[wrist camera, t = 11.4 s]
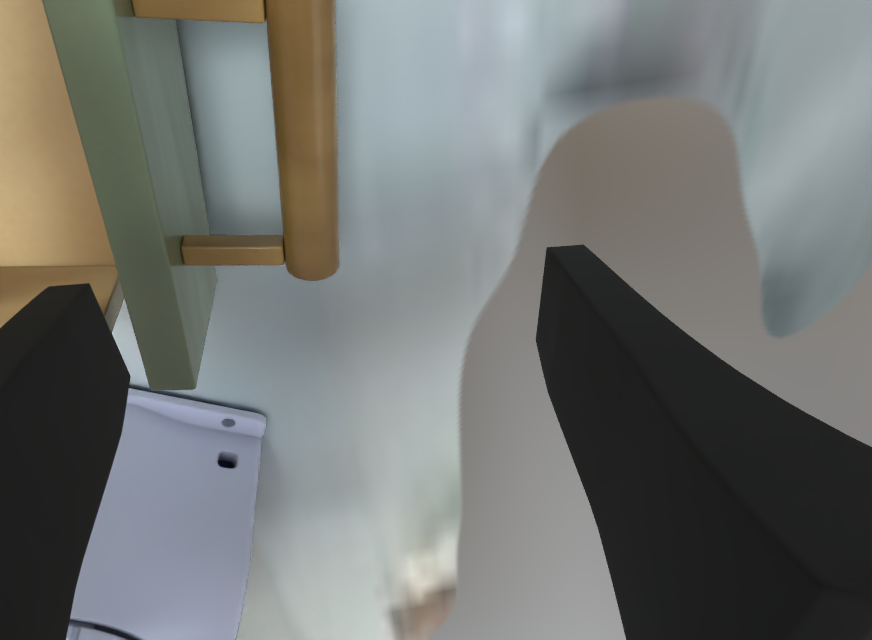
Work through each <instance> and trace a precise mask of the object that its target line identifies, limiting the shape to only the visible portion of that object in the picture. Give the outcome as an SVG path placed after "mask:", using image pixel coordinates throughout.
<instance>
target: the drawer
mask: <svg viewBox="0 0 872 640" xmlns="http://www.w3.org/2000/svg"><path fill="white" fill-rule="evenodd" d="M175 19H176V20H199V21H222V22H245V23H264V22H265V20H266V22H267V35H268V48H269V60H270V73H271V86H272V99H273V111H274V124H275V137H276V150H277V162H278V175H279V188H280V201H281V213H282V226H283V235H210V231H209V225H208V219H207V212H206V206H205V200H204V194H203V188H202V181H201V175H200V169H199V163H198V157H197V151H196V144H195V138H194V132H193V126H192V120H191V113H190V107H189V101H188V95H187V89H186V82H185V76H184V70H183V64H182V58H181V52H180V45H179V39H178V33H177V27H176V21H175ZM284 263H285V264H286V269H287V270H288V272H289V273H290V274H291V275H292V276H294V277H296V278H298V279H302V280H307V281H317V280H322V279H326V278H328V277H330V276H332V275H333V274H334V273H336V271H337V270H338V268H339V197H338V130H337V63H336V0H0V328H1V327H2V326H3V325H4V324H5V323H6V322H7V321H8V320H10V319H11V318H12V317H13V316H14V315H15V314H16V313H17V312H19V311H20V310H21V309H22V308H23V307H24V306H25V305H27V304H28V303H29V302H30V301H31V300H32V299H34V298H35V297H36V296H37V295H38V294H40V293H41V292H42V291H43V290H45V289H46V288H47V287H49V286H59V285H72V284H85V283H90V285H91V288H92V290H93V292H94V295H95V297H96V299H97V301H98V304H99V306H100V308H101V310H102V313H103V315H104V317H105V320H106V322H107V324H108V326H109V329H110V331H111V333H112V331H113V328H114V325H115V322H116V319H117V316H118V314H119V311H120V308H121V305H122V302H123V300H124V297H125V301H126V304H127V308H128V311H129V315H130V318H131V322H132V326H133V329H134V333H135V336H136V340H137V344H138V347H139V351H140V354H141V358H142V362H143V365H144V369H145V372H146V376H147V379H148V383H149V387H150V389H151V390H152V391H159V390H192V389H195V388H196V385H197V380H198V375H199V370H200V365H201V360H202V355H203V350H204V345H205V340H206V335H207V330H208V325H209V320H210V314H211V309H212V304H213V299H214V294H215V289H216V284H217V274H216V268H215V266H220V265H284Z"/></svg>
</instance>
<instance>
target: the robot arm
mask: <svg viewBox="0 0 872 640" xmlns="http://www.w3.org/2000/svg"><path fill="white" fill-rule="evenodd" d="M536 343H537V347H538V352H539V357H540V361H541V365H542V370H543V374H544V378H545V382H546V386H547V390H548V393H549V396H550V399H551V401H552V405H553V407H554V410H555V413H556V415H557V418H558V421H559V423H560V426H561V429H562V431H563V434H564V437H565V439H566V442H567V445H568V447H569V450H570V452H571V455H572V458H573V460H574V463H575V466H576V468H577V471H578V474H579V476H580V479H581V482H582V484H583V487H584V489H585V492H586V495H587V497H588V500H589V503H590V505H591V508H592V512H593V514H594V518H595V521H596V524H597V527H598V530H599V534H600V537H601V541H602V545H603V549H604V552H605V556H606V560H607V564H608V568H609V572H610V575H611V579H612V583H613V587H614V591H615V595H616V599H617V603H618V607H619V611H620V615H621V620H622V624H623V627H624V632H625V636H626V640H872V447H870V446H868V445H866V444H864V443H862V442H860V441H858V440H856V439H854V438H852V437H850V436H848V435H846V434H844V433H843V432H841V431H839V430H837V429H835V428H833V427H831V426H829V425H828V424H826V423H824V422H822V421H820V420H818V419H817V418H815V417H813V416H811V415H809V414H807V413H805V412H804V411H802V410H800V409H799V408H797V407H795V406H793V405H791V404H790V403H788V402H786V401H785V400H783V399H781V398H780V397H778V396H776V395H775V394H773V393H772V392H770V391H768V390H767V389H765V388H764V387H762V386H761V385H759V384H757V383H756V382H754V381H753V380H751V379H750V378H748V377H746V376H745V375H743V374H742V373H740V372H739V371H737V370H736V369H734V368H733V367H731V366H730V365H728V364H727V363H726V362H724V361H723V360H721V359H720V358H718V357H717V356H716V355H715V354H713V353H712V352H710V351H709V350H708V349H707V348H705V347H704V346H703V345H701V344H700V343H698V342H697V341H696V340H694V339H693V338H692V337H690V336H689V335H688V334H686V333H685V332H684V331H683V330H681V329H680V328H679V327H678V326H676V325H675V324H674V323H673V322H671V321H670V320H669V319H668V318H667V317H665V316H664V315H663V314H661V313H660V312H659V311H658V310H657V309H656V308H655V307H653V306H652V305H651V304H650V303H649V302H647V301H646V300H645V299H644V298H643V297H642V296H641V295H639V294H638V293H637V292H636V291H635V290H634V289H633V288H631V287H630V286H629V285H628V284H627V283H626V282H625V281H623V280H622V279H621V278H620V277H619V276H618V275H617V274H616V273H615V272H614V271H612V270H611V269H610V268H609V267H608V266H607V265H606V264H605V263H604V262H602V261H601V260H600V259H599V258H598V257H597V256H596V255H595V254H593V253H592V252H591V251H590V250H589V249H588V248H587V247H586V246H584V245H574V246H561V247H547V250H546V259H545V267H544V275H543V284H542V292H541V301H540V309H539V318H538V326H537V334H536ZM129 382H130V374H129V372H128V370H127V367H126V365H125V363H124V360H123V358H122V356H121V354H120V351H119V349H118V347H117V345H116V342H115V340H114V338H113V335H112V333H111V331H110V329H109V326H108V324H107V322H106V320H105V317H104V315H103V313H102V310H101V308H100V306H99V304H98V301H97V299H96V297H95V295H94V292H93V290H92V288H91V285H90V283H85V284H72V285H59V286H49V287H47V288H46V289H45V290H43V291H42V292H41V293H40V294H38V295H37V296H36V297H35V298H34V299H32V300H31V301H30V302H29V303H28V304H27V305H25V306H24V307H23V308H22V309H21V310H20V311H19V312H17V313H16V314H15V315H14V316H13V317H12V318H11V319H10V320H8V321H7V322H6V323H5V324H4V325H3V326H2V327H1V328H0V640H235V639H236V636H237V632H238V628H239V624H240V619H241V615H242V610H243V605H244V600H245V594H246V588H247V582H248V576H249V568H250V560H251V549H252V539H253V528H254V517H255V506H256V495H257V484H258V474H259V463H260V452H261V441H262V437H263V435H264V432H265V430H266V423H267V420H266V418H265V417H264V416H263V415H261V414H259V413H255V412H249V411H244V410H239V409H234V408H229V407H224V406H219V405H213V404H208V403H203V402H198V401H193V400H188V399H183V398H177V397H172V396H167V395H162V394H157V393H152V392H147V391H141V390H136V389H131V388H129ZM227 419H232V420H227Z"/></svg>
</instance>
